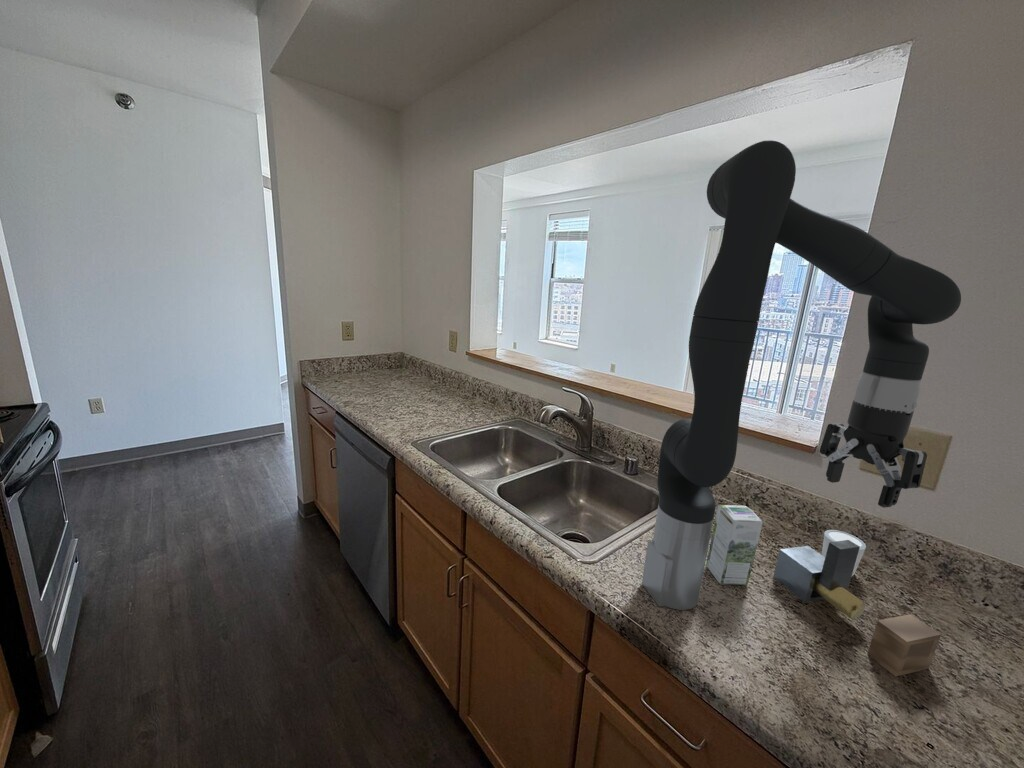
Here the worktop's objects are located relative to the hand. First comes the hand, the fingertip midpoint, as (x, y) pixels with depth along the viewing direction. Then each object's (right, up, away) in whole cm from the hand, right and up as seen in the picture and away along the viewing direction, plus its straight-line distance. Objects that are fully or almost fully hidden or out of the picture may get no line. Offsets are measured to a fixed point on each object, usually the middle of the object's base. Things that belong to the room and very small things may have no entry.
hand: (857, 493), depth 70 cm
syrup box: (-16, -20, +12) cm, 28 cm away
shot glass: (+9, -20, +16) cm, 28 cm away
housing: (-2, -21, +10) cm, 23 cm away
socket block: (+2, -25, -6) cm, 26 cm away
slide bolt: (-2, -20, +7) cm, 22 cm away
